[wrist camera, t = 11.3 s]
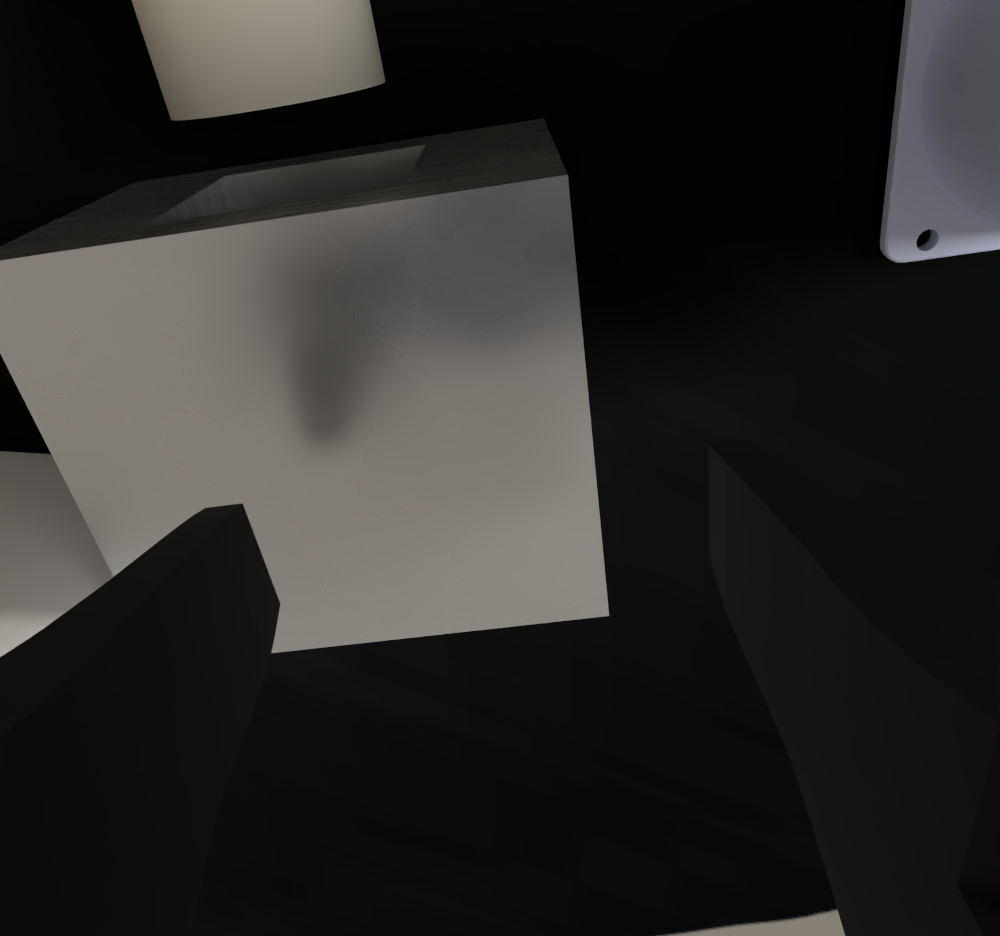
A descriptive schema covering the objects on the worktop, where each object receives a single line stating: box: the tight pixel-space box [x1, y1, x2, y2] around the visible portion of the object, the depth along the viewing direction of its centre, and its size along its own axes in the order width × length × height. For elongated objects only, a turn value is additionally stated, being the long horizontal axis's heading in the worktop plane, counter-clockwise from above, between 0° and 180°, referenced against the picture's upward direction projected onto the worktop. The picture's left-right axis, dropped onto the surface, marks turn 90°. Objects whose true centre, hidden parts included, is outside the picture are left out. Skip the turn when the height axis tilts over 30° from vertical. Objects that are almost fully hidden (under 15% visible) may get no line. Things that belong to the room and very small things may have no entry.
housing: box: [0, 118, 609, 653], centre depth 18 cm, size 10×9×7 cm
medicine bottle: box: [0, 451, 113, 657], centre depth 19 cm, size 7×7×12 cm
